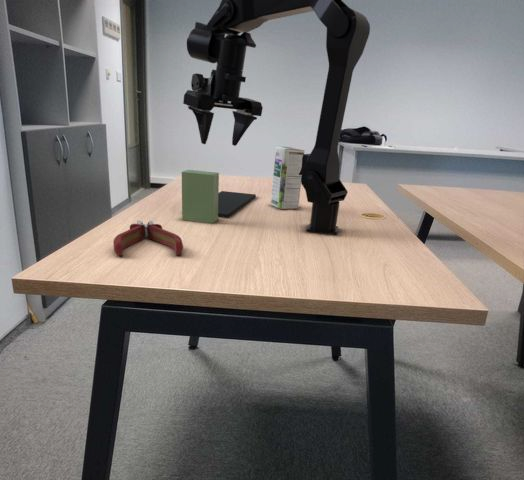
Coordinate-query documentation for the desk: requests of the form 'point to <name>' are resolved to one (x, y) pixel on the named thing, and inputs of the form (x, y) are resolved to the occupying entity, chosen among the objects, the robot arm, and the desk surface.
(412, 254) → the desk surface
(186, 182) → the sage block
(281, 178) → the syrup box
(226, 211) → the charcoal mat
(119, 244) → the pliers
